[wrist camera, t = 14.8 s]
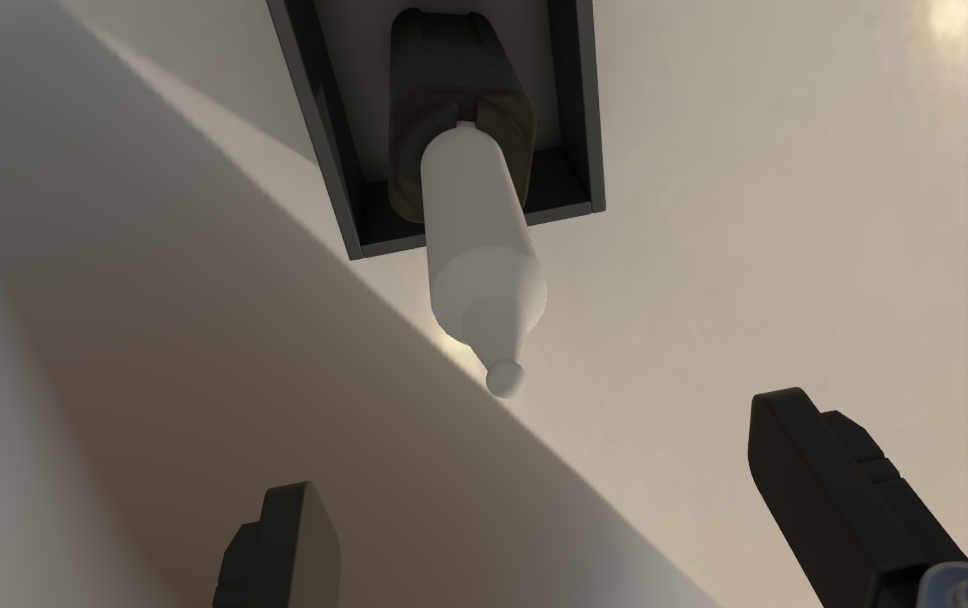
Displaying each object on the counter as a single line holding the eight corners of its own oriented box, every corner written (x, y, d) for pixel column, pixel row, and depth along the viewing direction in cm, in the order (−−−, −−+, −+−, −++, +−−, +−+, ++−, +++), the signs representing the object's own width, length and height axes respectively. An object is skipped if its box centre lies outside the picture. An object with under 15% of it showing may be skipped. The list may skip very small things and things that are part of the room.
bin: (357, 191, 39) (349, 261, 33) (286, -49, 32) (259, -20, 25) (571, 149, 39) (606, 211, 32) (548, -101, 32) (587, -85, 25)
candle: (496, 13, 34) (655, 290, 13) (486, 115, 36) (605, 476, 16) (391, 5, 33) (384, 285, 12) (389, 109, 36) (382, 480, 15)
